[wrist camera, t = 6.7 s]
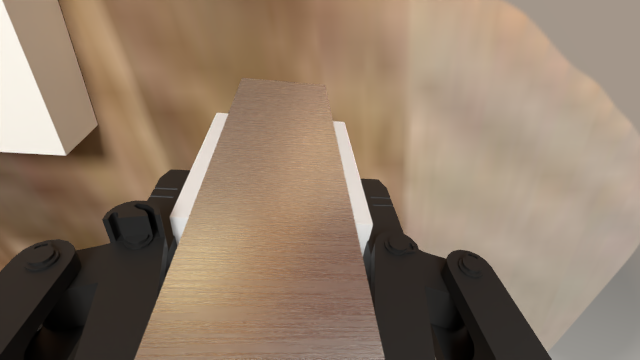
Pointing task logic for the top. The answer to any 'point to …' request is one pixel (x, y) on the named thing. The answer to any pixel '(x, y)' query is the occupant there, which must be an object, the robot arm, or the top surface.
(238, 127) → the square peg
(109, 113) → the top surface
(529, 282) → the top surface
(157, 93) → the top surface
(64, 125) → the socket block
